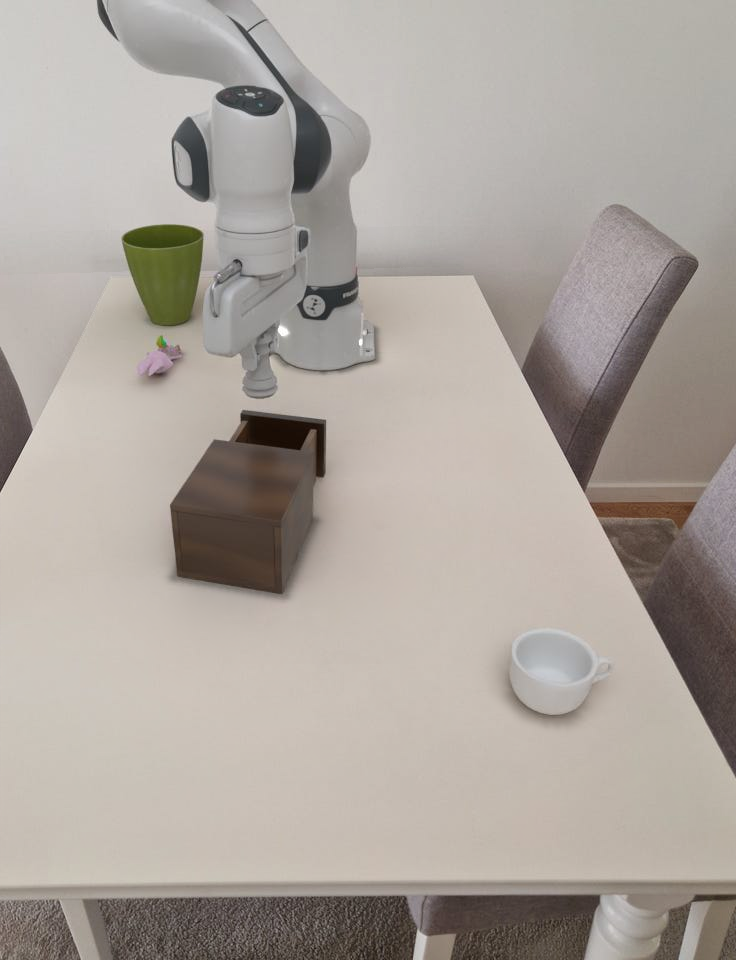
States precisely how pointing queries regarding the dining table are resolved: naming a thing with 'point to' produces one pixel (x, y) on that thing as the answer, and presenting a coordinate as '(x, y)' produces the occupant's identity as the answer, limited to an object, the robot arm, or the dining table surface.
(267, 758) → the dining table surface
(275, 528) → the cabinet
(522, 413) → the dining table surface
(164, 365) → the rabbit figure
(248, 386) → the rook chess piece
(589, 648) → the teacup
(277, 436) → the drawer
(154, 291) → the flower pot
